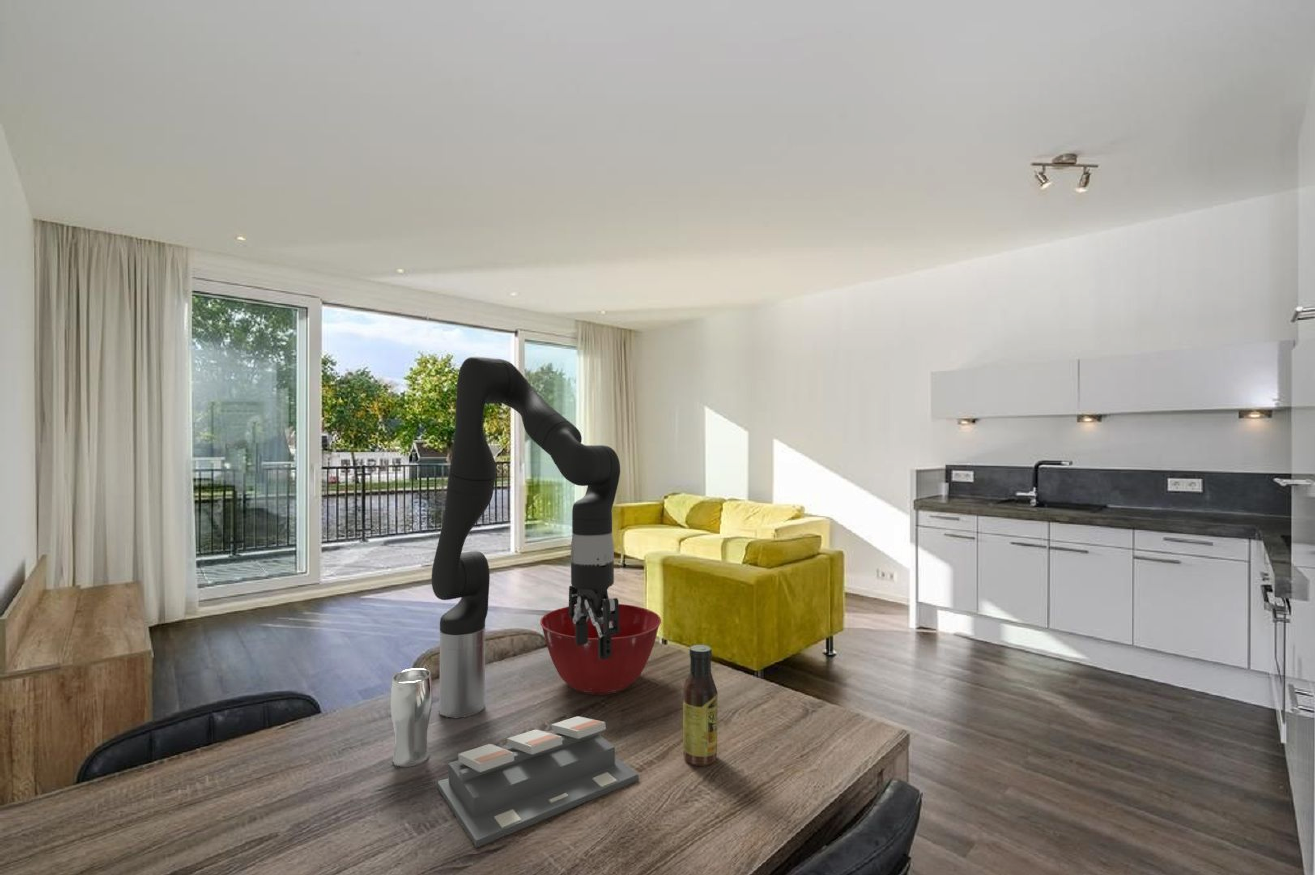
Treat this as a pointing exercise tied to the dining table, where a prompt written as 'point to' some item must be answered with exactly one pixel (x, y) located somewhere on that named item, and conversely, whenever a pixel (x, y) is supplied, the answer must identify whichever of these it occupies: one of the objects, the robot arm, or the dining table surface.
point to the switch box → (532, 786)
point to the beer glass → (411, 715)
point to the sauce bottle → (700, 709)
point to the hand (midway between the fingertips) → (592, 651)
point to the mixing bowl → (582, 660)
